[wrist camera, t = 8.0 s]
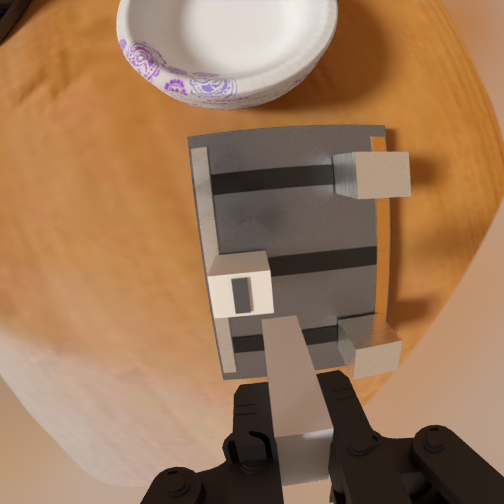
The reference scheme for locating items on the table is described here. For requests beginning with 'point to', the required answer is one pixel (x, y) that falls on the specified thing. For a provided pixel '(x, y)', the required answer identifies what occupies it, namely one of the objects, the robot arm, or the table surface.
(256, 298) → the breaker
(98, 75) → the table surface
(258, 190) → the panel
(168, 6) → the paper bowls
